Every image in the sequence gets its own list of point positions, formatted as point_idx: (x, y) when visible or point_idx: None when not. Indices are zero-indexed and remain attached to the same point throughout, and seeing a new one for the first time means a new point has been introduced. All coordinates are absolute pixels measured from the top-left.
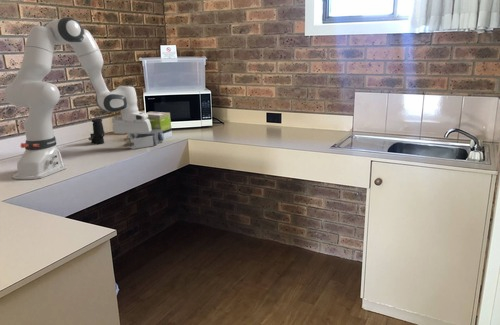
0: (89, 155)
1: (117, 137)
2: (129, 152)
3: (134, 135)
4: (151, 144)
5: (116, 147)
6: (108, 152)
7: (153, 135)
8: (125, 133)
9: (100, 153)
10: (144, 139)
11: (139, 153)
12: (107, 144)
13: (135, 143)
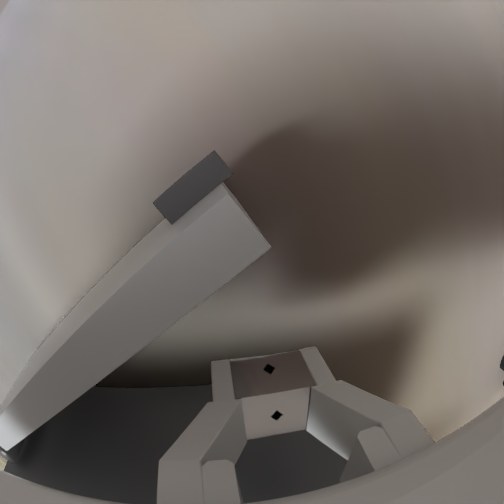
0: (498, 23)
1: None
2: (172, 17)
3: (301, 485)
4: (32, 356)
5: (448, 278)
6: (444, 62)
7: (17, 466)
8: (481, 415)
9: (478, 50)
10: (30, 374)
11: (30, 18)
12: (493, 346)
13: (145, 243)
